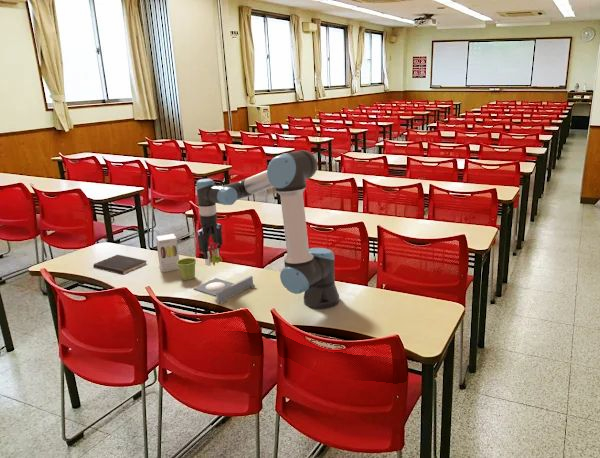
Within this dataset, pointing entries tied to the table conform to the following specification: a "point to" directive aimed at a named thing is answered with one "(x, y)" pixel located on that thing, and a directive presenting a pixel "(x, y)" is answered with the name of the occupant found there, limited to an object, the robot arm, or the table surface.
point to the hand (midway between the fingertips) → (212, 262)
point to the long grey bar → (234, 289)
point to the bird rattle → (214, 253)
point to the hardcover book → (120, 264)
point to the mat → (213, 286)
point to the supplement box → (167, 252)
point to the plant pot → (187, 268)
